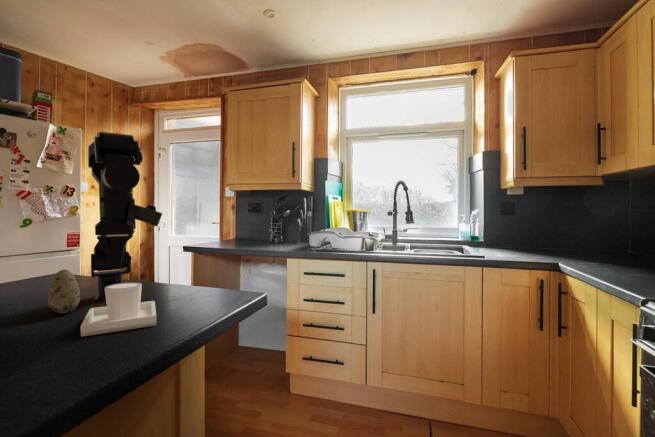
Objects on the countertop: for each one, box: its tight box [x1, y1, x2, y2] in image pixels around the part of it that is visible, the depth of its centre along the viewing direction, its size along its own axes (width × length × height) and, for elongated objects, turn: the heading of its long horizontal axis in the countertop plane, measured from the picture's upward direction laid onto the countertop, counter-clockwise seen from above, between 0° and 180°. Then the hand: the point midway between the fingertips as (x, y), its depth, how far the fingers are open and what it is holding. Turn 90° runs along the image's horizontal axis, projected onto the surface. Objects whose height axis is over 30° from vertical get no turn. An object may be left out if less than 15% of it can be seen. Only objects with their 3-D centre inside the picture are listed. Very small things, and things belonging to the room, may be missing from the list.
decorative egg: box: [46, 269, 81, 314], centre depth 76 cm, size 6×6×10 cm
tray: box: [80, 300, 157, 337], centre depth 71 cm, size 13×13×2 cm
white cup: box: [105, 282, 143, 321], centre depth 71 cm, size 7×7×7 cm
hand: (118, 265), depth 72 cm, fingers open, 9 cm apart
